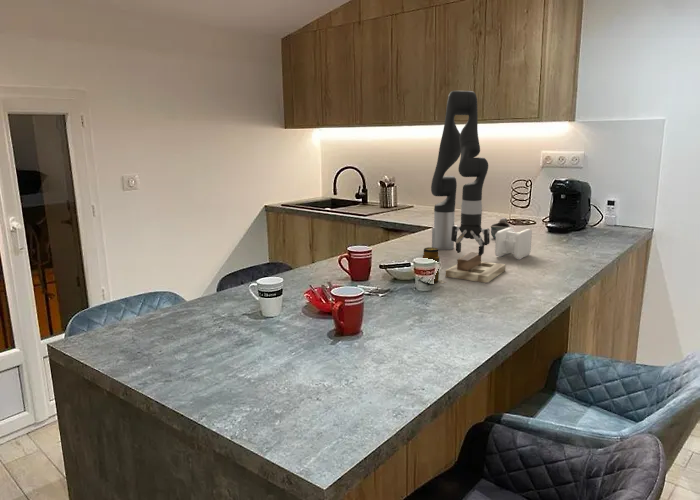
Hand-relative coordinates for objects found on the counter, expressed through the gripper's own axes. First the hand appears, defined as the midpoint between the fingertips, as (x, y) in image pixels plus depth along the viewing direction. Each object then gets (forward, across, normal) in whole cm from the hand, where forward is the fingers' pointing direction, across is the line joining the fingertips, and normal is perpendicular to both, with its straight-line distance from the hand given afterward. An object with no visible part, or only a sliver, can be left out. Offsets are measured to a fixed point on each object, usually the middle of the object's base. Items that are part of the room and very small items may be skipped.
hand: (469, 254), depth 199 cm
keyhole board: (+7, +3, 0) cm, 8 cm away
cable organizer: (+8, +6, +35) cm, 36 cm away
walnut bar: (+7, 0, 0) cm, 7 cm away
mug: (+8, -11, +70) cm, 71 cm away
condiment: (+7, -7, -18) cm, 21 cm away
